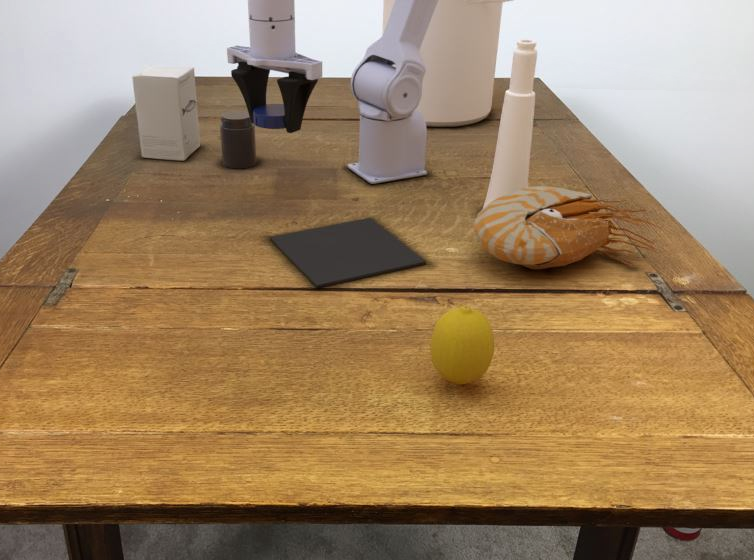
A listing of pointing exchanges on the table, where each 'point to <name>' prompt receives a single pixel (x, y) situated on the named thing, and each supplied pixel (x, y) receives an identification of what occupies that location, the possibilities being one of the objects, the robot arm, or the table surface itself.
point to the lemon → (462, 345)
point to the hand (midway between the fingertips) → (275, 126)
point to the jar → (237, 140)
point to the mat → (346, 252)
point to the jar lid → (269, 116)
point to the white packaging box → (167, 112)
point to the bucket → (458, 60)
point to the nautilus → (548, 227)
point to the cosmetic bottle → (515, 126)
